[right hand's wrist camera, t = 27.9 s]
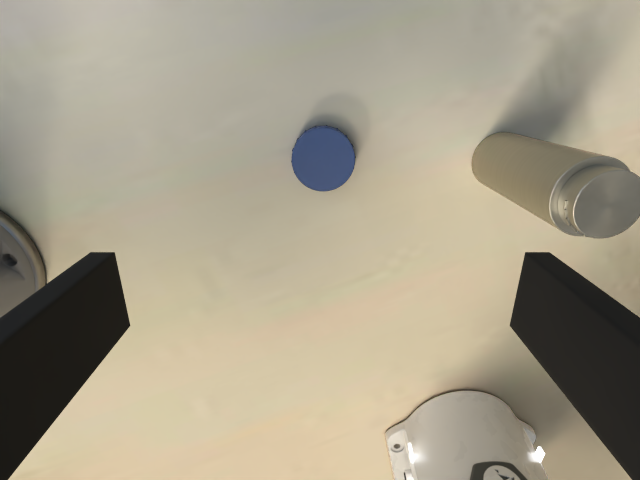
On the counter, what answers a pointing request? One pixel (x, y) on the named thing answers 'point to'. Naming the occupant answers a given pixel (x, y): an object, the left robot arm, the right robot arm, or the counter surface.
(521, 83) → the counter surface
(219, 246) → the counter surface
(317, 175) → the lid
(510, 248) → the counter surface
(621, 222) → the jar
